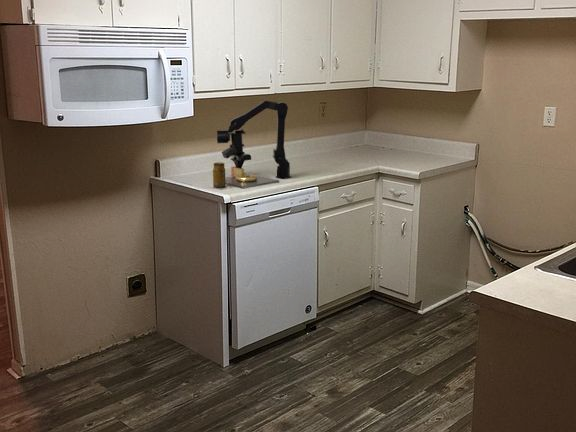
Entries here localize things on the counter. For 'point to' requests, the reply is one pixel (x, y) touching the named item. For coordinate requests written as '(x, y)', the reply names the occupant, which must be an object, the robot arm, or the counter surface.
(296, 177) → the counter surface
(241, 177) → the brass lever handle
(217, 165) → the condiment
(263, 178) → the base plate
